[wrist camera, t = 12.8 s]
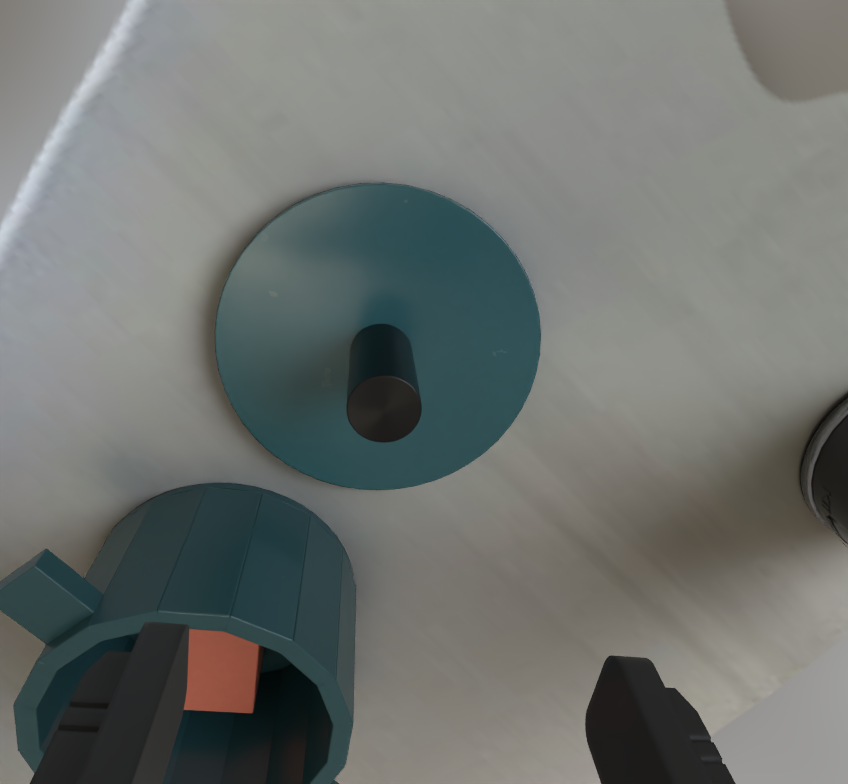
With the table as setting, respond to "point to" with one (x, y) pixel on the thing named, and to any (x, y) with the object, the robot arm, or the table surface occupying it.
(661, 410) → the table surface
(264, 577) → the pot
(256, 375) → the lid
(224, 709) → the coral pink brick
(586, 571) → the table surface
